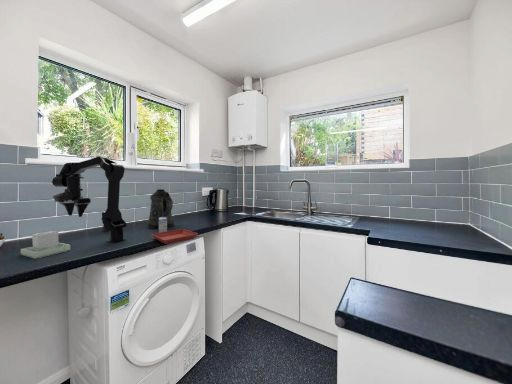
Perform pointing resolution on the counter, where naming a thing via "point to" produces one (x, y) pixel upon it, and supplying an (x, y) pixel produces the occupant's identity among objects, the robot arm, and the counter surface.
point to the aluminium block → (45, 241)
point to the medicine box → (162, 224)
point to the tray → (45, 251)
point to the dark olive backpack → (160, 209)
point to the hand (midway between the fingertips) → (75, 216)
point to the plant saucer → (174, 236)
